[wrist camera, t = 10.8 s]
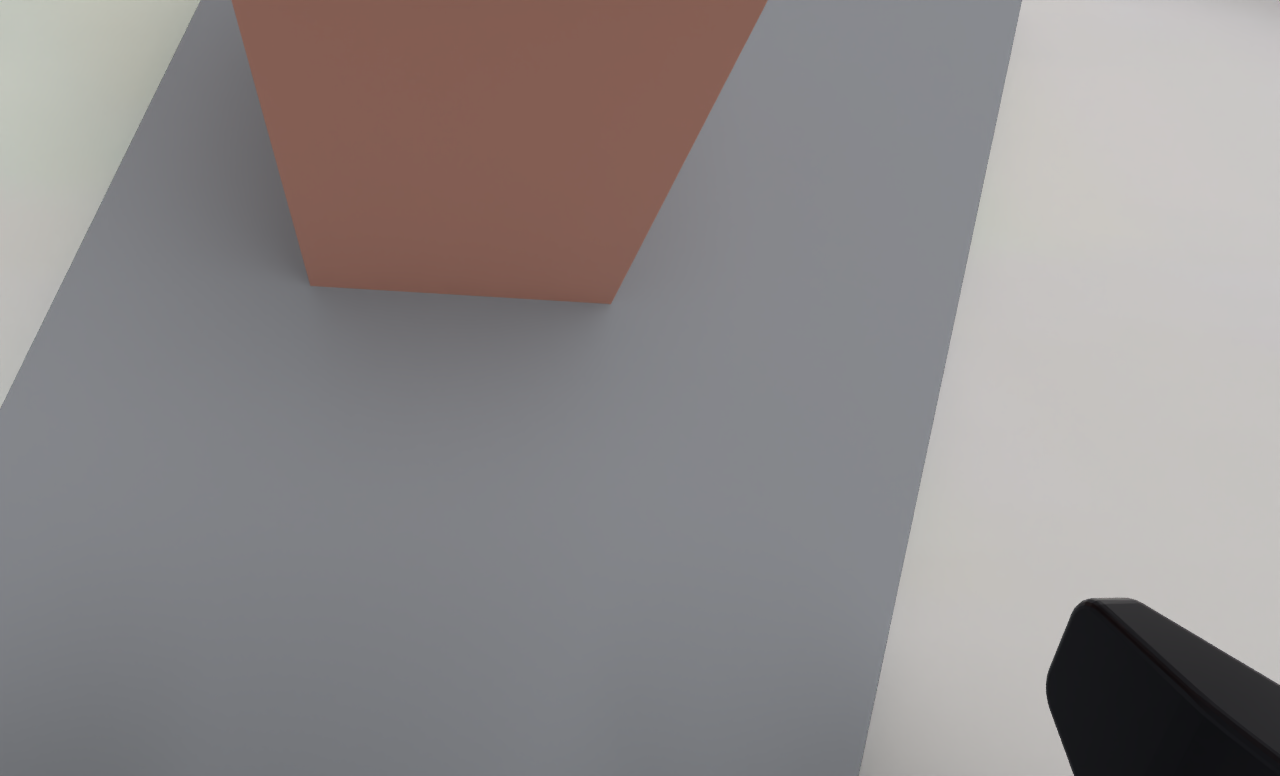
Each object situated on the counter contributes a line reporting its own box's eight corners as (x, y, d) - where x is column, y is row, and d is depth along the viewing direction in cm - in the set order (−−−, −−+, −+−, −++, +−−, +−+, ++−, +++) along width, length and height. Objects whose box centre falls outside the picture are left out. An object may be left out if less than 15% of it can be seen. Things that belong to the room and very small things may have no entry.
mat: (751, 1231, 14) (759, 1245, 14) (-262, 975, 13) (-282, 983, 13) (1011, 8, 20) (1022, -5, 20) (337, -257, 19) (336, -276, 19)
